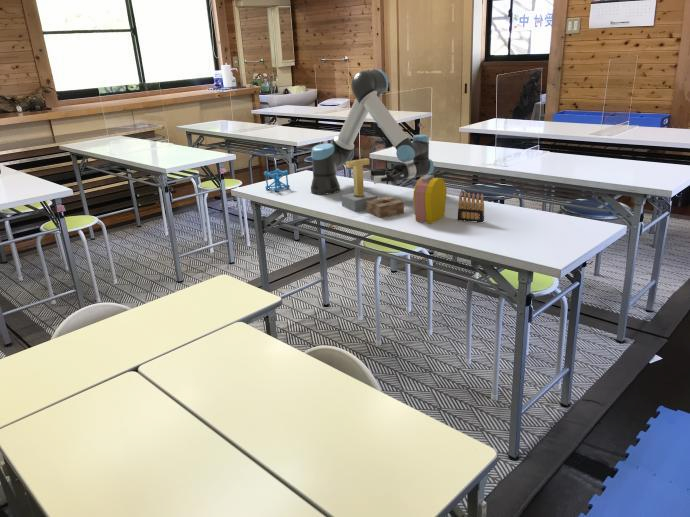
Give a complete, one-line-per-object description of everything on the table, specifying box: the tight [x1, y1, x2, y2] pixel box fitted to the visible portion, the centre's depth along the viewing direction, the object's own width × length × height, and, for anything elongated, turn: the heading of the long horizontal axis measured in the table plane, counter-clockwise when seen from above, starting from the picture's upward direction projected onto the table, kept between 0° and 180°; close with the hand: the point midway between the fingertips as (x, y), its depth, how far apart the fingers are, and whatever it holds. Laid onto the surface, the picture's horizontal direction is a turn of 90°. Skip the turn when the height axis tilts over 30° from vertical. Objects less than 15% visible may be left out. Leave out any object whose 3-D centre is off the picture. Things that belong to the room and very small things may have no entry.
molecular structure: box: [263, 168, 291, 192], centre depth 289 cm, size 10×10×10 cm
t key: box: [345, 157, 370, 198], centre depth 248 cm, size 3×11×21 cm, turn 120°
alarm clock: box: [412, 174, 447, 224], centre depth 225 cm, size 15×8×18 cm, turn 145°
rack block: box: [341, 190, 378, 212], centre depth 251 cm, size 12×12×5 cm
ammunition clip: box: [456, 191, 485, 223], centre depth 220 cm, size 11×2×12 cm, turn 62°
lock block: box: [365, 196, 405, 219], centre depth 239 cm, size 12×12×5 cm
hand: (366, 178), depth 248 cm, fingers open, 13 cm apart
